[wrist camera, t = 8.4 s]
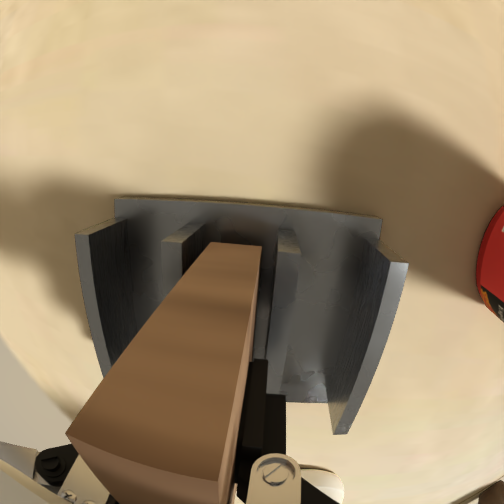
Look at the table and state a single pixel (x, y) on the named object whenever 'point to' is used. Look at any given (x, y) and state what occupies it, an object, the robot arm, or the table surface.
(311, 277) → the rack
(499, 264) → the canned food
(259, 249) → the board
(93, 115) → the table surface
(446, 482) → the table surface
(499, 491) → the plant pot
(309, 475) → the vodka
